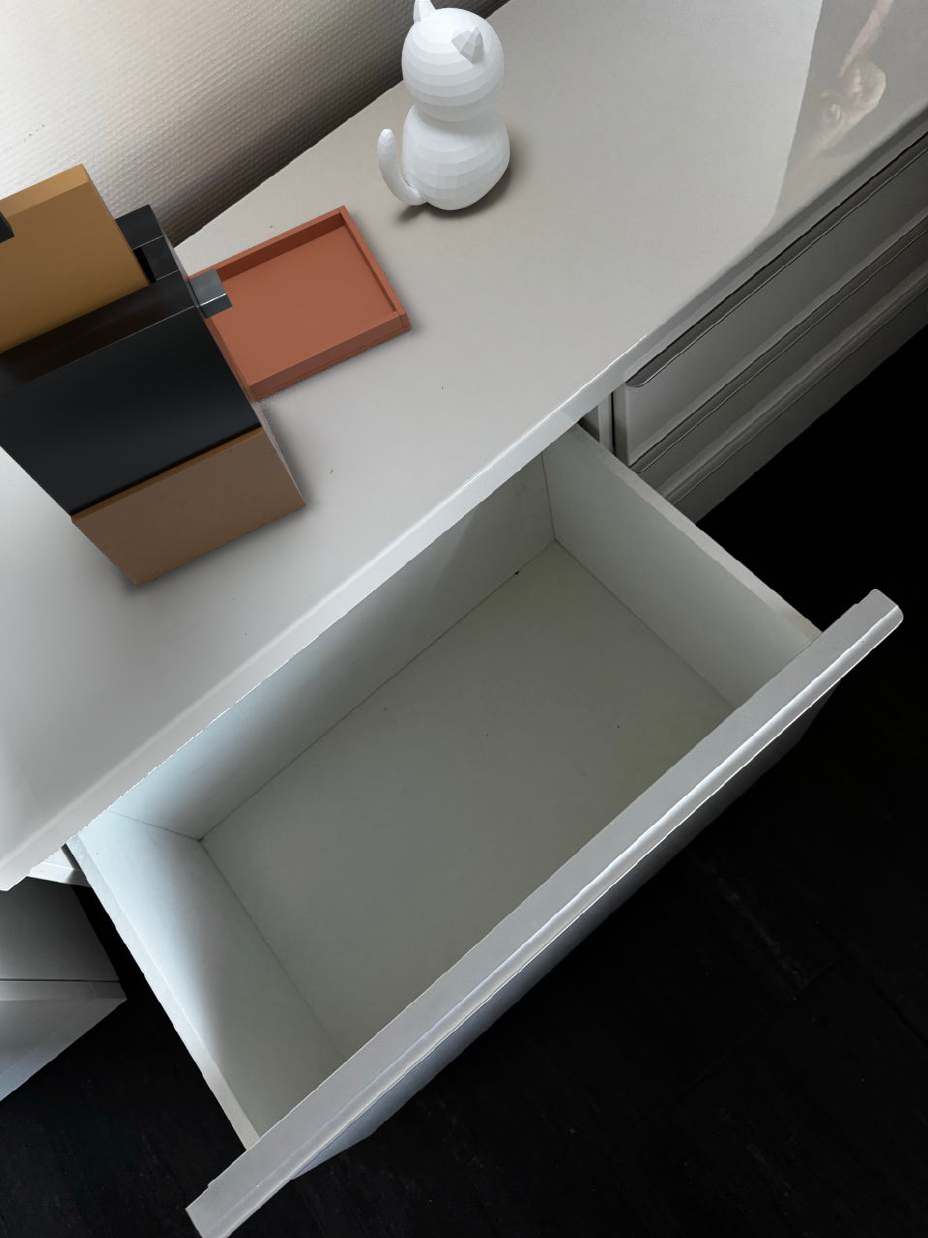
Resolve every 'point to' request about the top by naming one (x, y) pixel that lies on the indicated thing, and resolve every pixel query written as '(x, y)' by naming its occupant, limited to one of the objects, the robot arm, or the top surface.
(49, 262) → the toast
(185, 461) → the toaster
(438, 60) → the cat figurine
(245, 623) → the top surface
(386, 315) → the tray
